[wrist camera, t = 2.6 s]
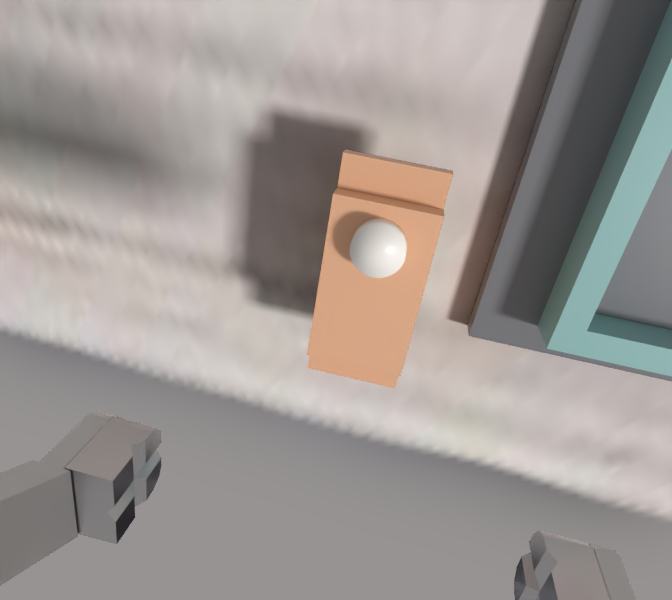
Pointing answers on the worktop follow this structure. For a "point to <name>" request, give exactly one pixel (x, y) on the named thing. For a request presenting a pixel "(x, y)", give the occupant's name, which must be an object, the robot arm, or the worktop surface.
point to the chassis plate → (593, 201)
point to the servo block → (375, 265)
